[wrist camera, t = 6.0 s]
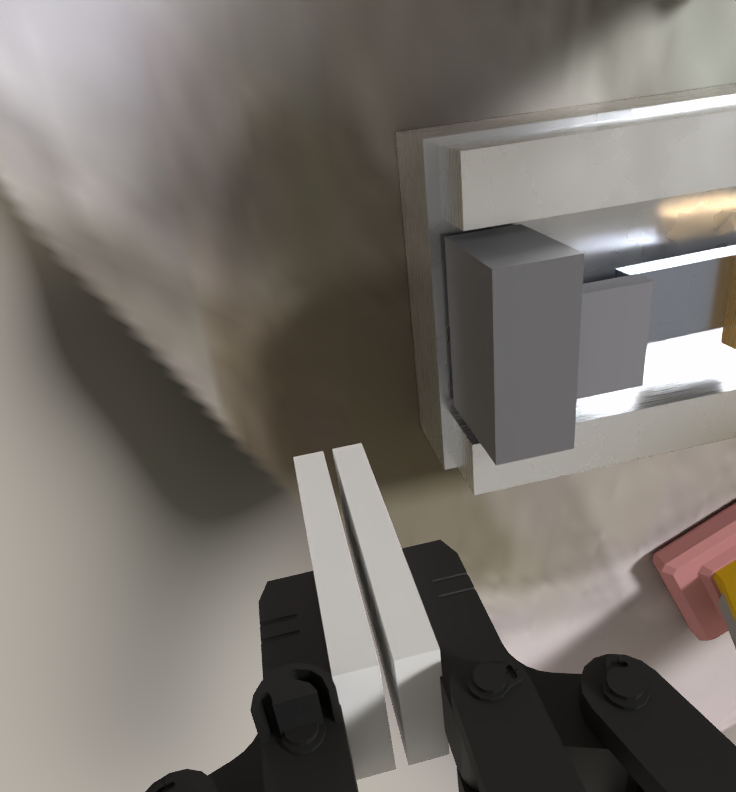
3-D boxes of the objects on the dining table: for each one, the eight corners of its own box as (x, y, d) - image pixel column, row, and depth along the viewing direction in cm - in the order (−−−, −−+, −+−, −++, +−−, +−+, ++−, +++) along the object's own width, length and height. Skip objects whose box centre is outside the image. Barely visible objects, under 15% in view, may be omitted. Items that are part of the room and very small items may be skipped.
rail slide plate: (395, 132, 25) (449, 146, 19) (946, 53, 28) (1147, 43, 22) (420, 427, 31) (467, 509, 25) (864, 336, 34) (1002, 389, 28)
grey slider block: (444, 236, 23) (491, 269, 18) (595, 211, 23) (672, 237, 19) (453, 405, 26) (495, 465, 22) (585, 379, 27) (649, 431, 23)
